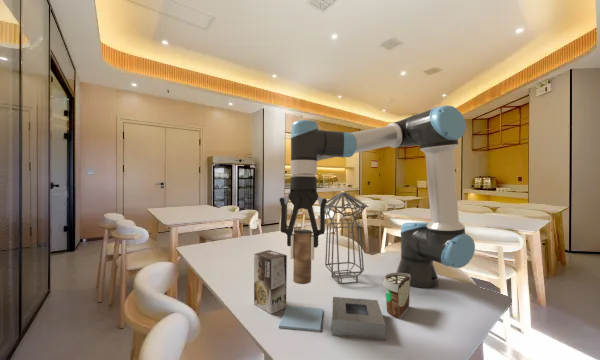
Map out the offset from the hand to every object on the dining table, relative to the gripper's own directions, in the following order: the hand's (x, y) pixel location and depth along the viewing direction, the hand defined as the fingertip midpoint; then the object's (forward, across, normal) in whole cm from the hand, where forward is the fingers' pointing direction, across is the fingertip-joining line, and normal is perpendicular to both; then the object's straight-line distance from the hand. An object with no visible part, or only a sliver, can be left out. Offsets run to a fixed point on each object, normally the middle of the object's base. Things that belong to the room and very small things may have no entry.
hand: (302, 258), depth 73 cm
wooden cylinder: (+6, 0, 0) cm, 6 cm away
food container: (+17, -27, -10) cm, 34 cm away
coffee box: (+17, +11, -6) cm, 21 cm away
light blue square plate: (+17, 0, 0) cm, 17 cm away
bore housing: (+17, -15, 0) cm, 23 cm away
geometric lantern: (+17, -12, -33) cm, 39 cm away
